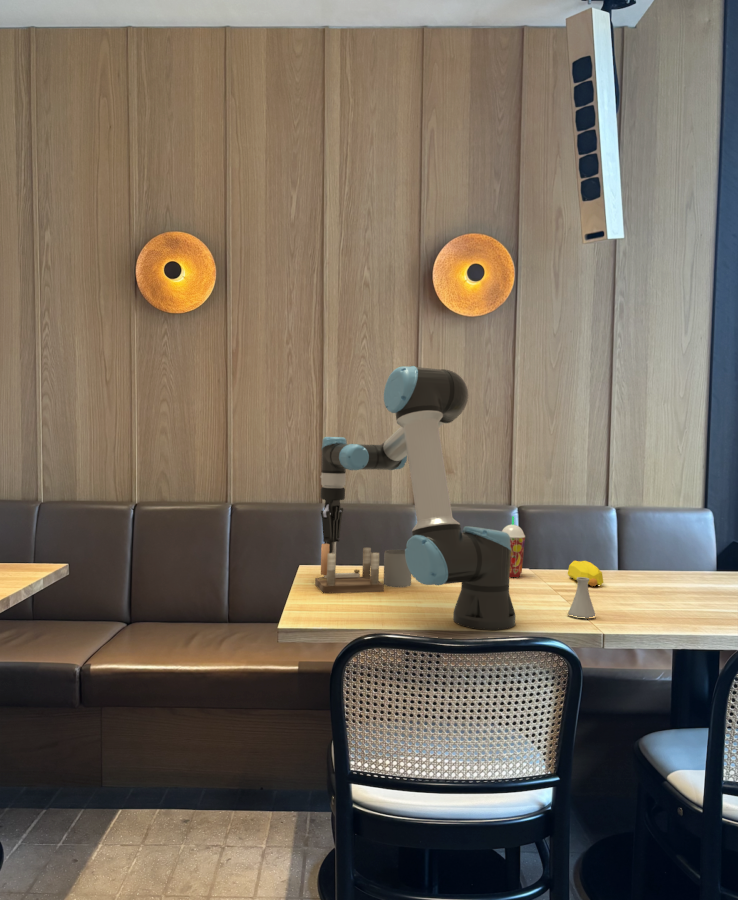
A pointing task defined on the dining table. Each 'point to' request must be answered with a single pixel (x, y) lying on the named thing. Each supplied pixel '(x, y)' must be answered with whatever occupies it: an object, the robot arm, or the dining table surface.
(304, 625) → the dining table surface
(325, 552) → the crank handle
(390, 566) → the cup
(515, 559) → the smoothie
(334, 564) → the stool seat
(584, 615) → the flask
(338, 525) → the robot arm
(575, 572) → the yellow lumpy oval
